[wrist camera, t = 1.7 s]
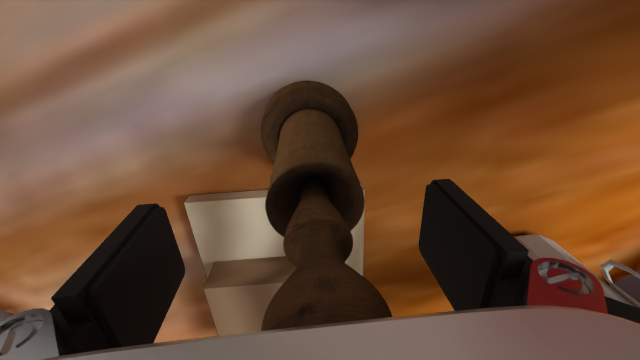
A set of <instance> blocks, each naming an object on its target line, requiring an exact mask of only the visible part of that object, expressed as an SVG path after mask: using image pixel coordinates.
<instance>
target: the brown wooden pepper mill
mask: <svg viewBox="0 0 640 360" xmlns="http://www.w3.org/2000/svg"><path fill="white" fill-rule="evenodd" d="M261 137H262V142H263V145H264V148H265V150H266V152H267V154H268V156H269V158H270V159H271V160H272V162H273V163H274V167H273V172H272V176H271V180H270V184H269V188H268V192H267V197H266V201H265V210H266V214H267V217H268V220H269V222H270V224H271V226H272V227H273V228H274V230H275V231H276V232H277V233H278V234H280V235H281V236H282V237H284V241H283V248H284V252H285V255H286V257H287V258H288V260H289V261H290V262H291V263H292V264H293V265H294V266H296V270H295V271H294V272H293V273H292V274H291V275H290V276H289V277H288V279H287V280H286V281H285V282H284V283H283V284H282V286H281V287H280V288H279V289H278V291H277V292H276V293H275V295H274V296H273V298H272V300H271V301H270V303H269V305H268V307H267V309H266V312H265V315H264V318H263V322H262V327H261V331H267V330H276V329H285V328H294V327H303V326H312V325H322V324H331V323H340V322H350V321H359V320H369V319H379V318H388V317H392V315H391V312H390V310H389V307H388V305H387V304H386V302H385V300H384V299H383V297H382V296H381V294H380V293H379V292H378V290H377V289H376V288H375V287H374V286H373V285H372V284H371V283H370V282H369V281H368V280H366V279H365V278H364V277H363V276H361V275H360V274H359V273H358V272H356V271H355V270H354V269H353V268H351V267H350V266H348V265H347V264H346V263H345V261H346V260H347V259H348V257H349V256H350V254H351V252H352V249H353V237H352V234H351V230H352V229H353V228H354V227H355V226H356V225H357V224H358V222H359V221H360V219H361V217H362V214H363V211H364V204H365V200H364V193H363V190H362V187H361V185H360V183H359V180H358V178H357V175H356V173H355V171H354V168H353V166H352V163H351V161H350V158H351V156H352V155H353V153H354V150H355V148H356V144H357V139H358V126H357V122H356V118H355V116H354V113H353V111H352V109H351V108H350V106H349V104H348V102H347V101H346V100H345V98H344V97H343V96H342V95H341V94H340V93H339V92H338V91H336V90H335V89H333V88H332V87H330V86H328V85H326V84H323V83H320V82H315V81H301V82H296V83H292V84H290V85H288V86H286V87H284V88H282V89H281V90H280V91H278V92H277V93H276V94H275V95H274V96H273V98H272V99H271V100H270V102H269V104H268V106H267V108H266V111H265V113H264V116H263V120H262V125H261Z"/></svg>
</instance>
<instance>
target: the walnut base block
mask: <svg viewBox="0 0 640 360" xmlns="http://www.w3.org/2000/svg"><path fill="white" fill-rule="evenodd" d="M295 270H296V266H294V265H293V264H292V263H291V262H290V261H289V260H288V258H287V257H286V256H281V257H268V258H255V259H242V260H230V261H217V262H214V263H213V266H212V268H211V271H210V273H209V276H208V279H207V281H206V284H205V286H204V292H205V295H206V298H207V301H208V305H209V308H210V311H211V314H212V317H213V320H214V323H215V326H216V329H217V333H218V336H222V335H231V334H239V333H248V332H258V331H261V327H262V322H263V318H264V315H265V312H266V309H267V307H268V305H269V303H270V301H271V300H272V298H273V296H274V295H275V293H276V292H277V291H278V289H279V288H280V287H281V286H282V284H283V283H284V282H285V281H286V280H287V279H288V277H289V276H290V275H291V274H292V273H293V272H294V271H295Z"/></svg>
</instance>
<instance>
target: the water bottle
mask: <svg viewBox="0 0 640 360" xmlns="http://www.w3.org/2000/svg"><path fill="white" fill-rule="evenodd" d="M515 238H516V239H517V240H518V241H519V242H520V243H521V244H522V245H524V246H525V247H526V248H527V249H528V250H529V253H528V256H529V257H530V258H531V259H532V260H533V261H534V260H536V259H538V258H544V257H547V258H557V259H561V260H565V261H568V262H571V263H573V264H576V265H578V266H580V267H582V268H583V269H585V270H587V271H588V272H589V273H591V274H592V275H594V276H595V277H596V279H597V280H598V281H599V282H600V283H601V285H602V288H603V291H604V296H607V297H609V298H612V299H615V300H618V301H620V302H623V303H626V304H629V305H631V304H630V303H629V302H628V301H626V300H625V299H624V298H623V297H622V296H620V295H619V294H618V293H616V292H615V291H614V290H613V289H612V288H610V287H609V286H608V285H607V284H606V283H604V282H603V281H602V280H601V279H599V278H598V277H597V276H596V275H595V274H593V273H592V272H591V271H590V270H588V269H587V268H586V267H585V266H584V265H582V264H581V263H580V262H579V261H577V260H576V259H575V258H574V257H572V256H571V255H570V254H569V253H568V252H566V251H565V250H564V249H563V248H561V247H560V246H559V245H558V244H557V243H555V242H554V241H553V240H550V239H548V238H545V237H543V236H540V235H537V234H530V235H522V236H515ZM614 266H616V267H618V268H621V269H623V270H625V271H628V272H630V273H631V274H633V275H635V276H636V277H638V278H639V279H640V275H639V274H638V273H636V272H635V271H633V270H632V269H630V268H628V267H626V266H624V265H622V264H620V263H618V262H615V261H613V260H609V261H607V262H606V263H604V264H602V265H600V267H601V270H602V274H603V275H604V277H605V278H606V280H607V281H608V282H609V283H610V284H611V285H612V286H613V287H614V288H615V289H616V290H617V291H618V292H620V293H621V294H622V295H623V296H625V297H626V298H627V299H628V300H630V301H631V302H632V303H634V304H635V305H636V306H638V307H639V308H640V303H638V302H637V301H636V300H634V299H633V298H632V297H630V296H629V295H628V294H627V293H625V292H624V291H623V290H621V289H620V288H619V287H617V286H616V285H615V284H613V282H612V280H611V278H610V275H609V273H608V272H609V271H610V270H611V269H612V268H613V267H614ZM631 306H633V305H631Z"/></svg>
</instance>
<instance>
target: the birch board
mask: <svg viewBox="0 0 640 360" xmlns="http://www.w3.org/2000/svg"><path fill="white" fill-rule="evenodd" d="M360 185H361V187H362V190H363V193H364V200H365V189H364V187H363V184H362V183H360ZM267 192H268V190H258V191H244V192H230V193H216V194H202V195H189V197H188V198H187V200H186V201H185V202H184V205H185V208H186V211H187V214H188V218H189V221H190V224H191V227H192V231H193V234H194V237H195V240H196V244H197V247H198V250H199V253H200V257H201V260H202V263H203V267H204V270H205V273H206V276H207V279H208V276H209V273H210V271H211V268H212V266H213V263H214V262H217V261H230V260H242V259H255V258H268V257H281V256H286V255H285V252H284V248H283V241H284V237H282V236H281V235H280V234H278V233H277V232H276V231H275V230H274V228H273V227H272V226H271V224H270V222H269V220H268V217H267V214H266V210H265V201H266V197H267ZM364 208H365V204H364ZM351 234H352V237H353V249H352V252H351V254H350V256H349V257H348V259H347V260H346V261H345V263H346V264H347V265H348V266H350V267H351V268H353V269H354V270H355V271H356V272H358V273H359V274H360V275H361V276H363V251H364V211H363V214H362V217H361V219H360V221H359V222H358V224H357V225H356V226H355V227H354V228H353V229H352V230H351Z"/></svg>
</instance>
